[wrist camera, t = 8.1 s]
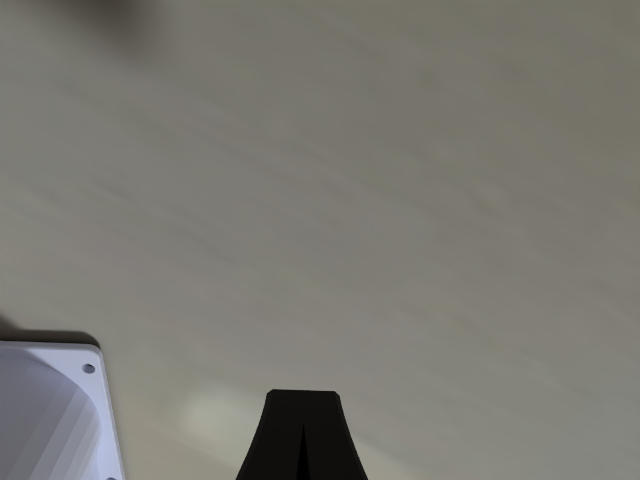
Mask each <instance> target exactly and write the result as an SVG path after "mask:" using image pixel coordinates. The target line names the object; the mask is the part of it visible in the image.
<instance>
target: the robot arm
mask: <svg viewBox="0 0 640 480" xmlns="http://www.w3.org/2000/svg"><path fill="white" fill-rule="evenodd" d="M87 364H91V365H92V366H94V367H91V366H89V365H87ZM0 480H125V474H124V469H123V464H122V458H121V453H120V447H119V442H118V437H117V431H116V426H115V420H114V415H113V409H112V404H111V399H110V393H109V388H108V382H107V377H106V372H105V366H104V361H103V355H102V352H101V350H100V349H99V348H98V347H96V346H94V345H90V344H73V343H44V342H15V341H0ZM236 480H368V478H367V476H366V473H365V471H364V469H363V466H362V464H361V462H360V459H359V457H358V454H357V451H356V449H355V446H354V443H353V440H352V438H351V435H350V432H349V429H348V426H347V423H346V420H345V416H344V413H343V409H342V405H341V401H340V396H339V395H338V394H337V393H336V392H335V391H311V390H279V389H273V390H271V391H270V392H268V393H267V396H266V400H265V405H264V409H263V412H262V415H261V419H260V422H259V425H258V427H257V430H256V433H255V435H254V438H253V441H252V443H251V446H250V448H249V451H248V453H247V455H246V457H245V460H244V462H243V464H242V466H241V469H240V471H239V473H238V475H237V478H236Z"/></svg>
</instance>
